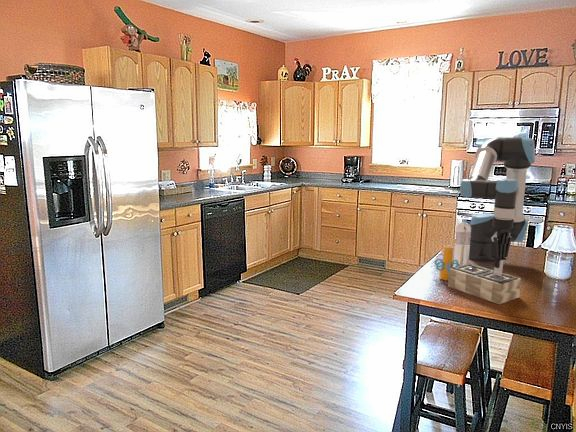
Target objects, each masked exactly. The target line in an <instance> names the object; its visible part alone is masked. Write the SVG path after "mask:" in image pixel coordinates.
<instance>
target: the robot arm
mask: <svg viewBox="0 0 576 432" xmlns="http://www.w3.org/2000/svg"><path fill="white" fill-rule="evenodd" d="M535 146H536V145H535V140H534V139H533V138H531V137H522V136H521V137H501V136H499V137H498V136H497V137H494V138H490V139H489V140H486V141H485V142H483V143H482V144H480V145H479V147H478V148H477V150H476V152H475V155H474V156H475V161H474V163H473V167H472V169H471V172H470V174H469V177H468V178H466V179H465V178H464V179H462V180H461V181H460V185H459V188H460V189H459V194H460V196H462V197H465V198H474V199H475V198H477V199H489V200H494V207H493V213H478V214H474V215H473V216H472V217H471V218H470V223H469V225H470V226H471V229H472V230H471V238H470V251H469V252H470V253H469V260H473V261H478V262H479V261H480V262H491V261H494V264H493V265H494V266H493V271H494V275H497V276H502V273H503V267H504V261H507V258H508V256H509V252H510V247H511V244H512V243H522V242H524V240H525V237H526V233H527V229H528V225H529V220H527V219H526V216H525V215H524V214H523V211H524V201H525V192H526V191H525V190H526V181H527V171H528V169H530V168H531V167H532V164H535V163H536V162H535V161H536V147H535ZM496 162H499V163H503V167H504V168H505V169H506V175H505V178H498V179H497V180H489V177H490V173H491V171H492V168H493V164H494V163H496Z"/></svg>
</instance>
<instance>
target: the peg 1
mask: <svg viewBox="0 0 576 432" xmlns="http://www.w3.org/2000/svg"><path fill="white" fill-rule="evenodd" d="M466 270H467V271H471V272H476V270H477V268H475V267H467V269H466Z"/></svg>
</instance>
